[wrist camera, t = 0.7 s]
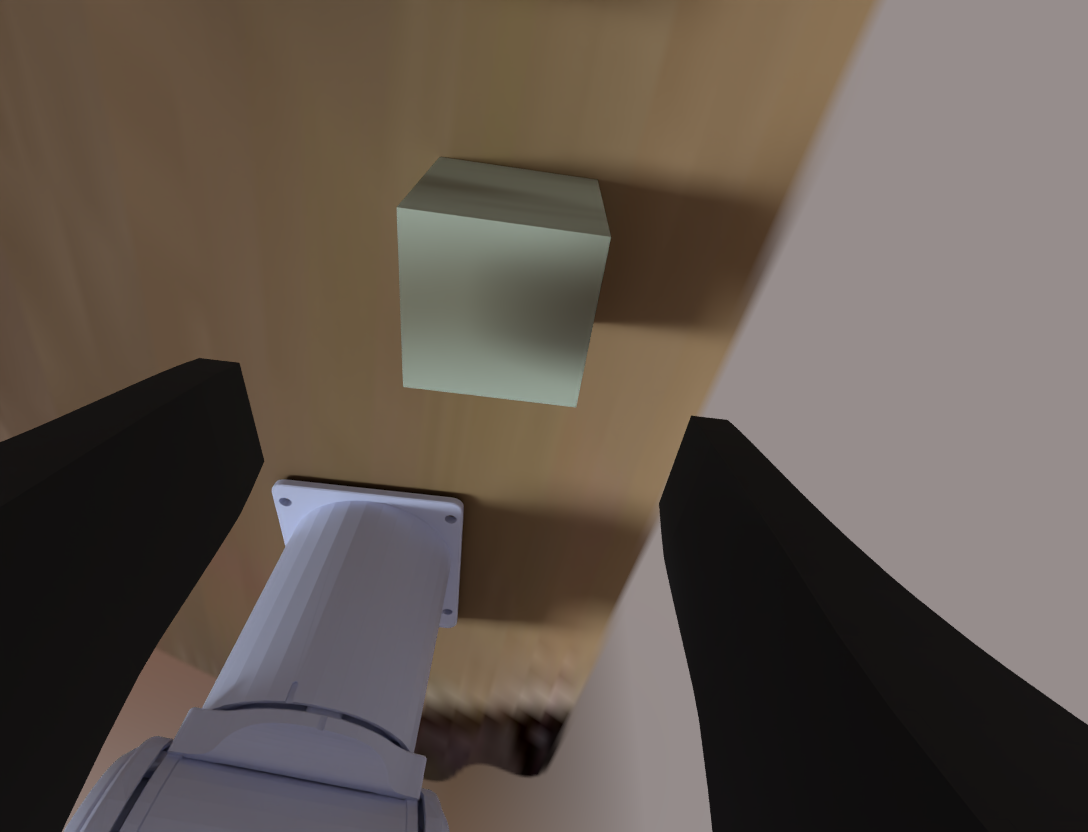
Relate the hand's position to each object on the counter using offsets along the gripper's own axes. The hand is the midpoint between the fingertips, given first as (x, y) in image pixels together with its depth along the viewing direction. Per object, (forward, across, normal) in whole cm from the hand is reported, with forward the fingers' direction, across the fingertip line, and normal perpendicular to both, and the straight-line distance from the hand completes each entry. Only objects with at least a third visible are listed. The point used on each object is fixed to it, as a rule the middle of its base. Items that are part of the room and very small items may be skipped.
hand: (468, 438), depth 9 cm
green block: (+10, 0, 0) cm, 10 cm away
